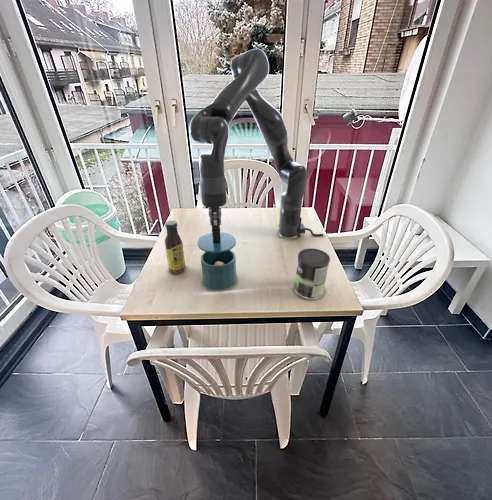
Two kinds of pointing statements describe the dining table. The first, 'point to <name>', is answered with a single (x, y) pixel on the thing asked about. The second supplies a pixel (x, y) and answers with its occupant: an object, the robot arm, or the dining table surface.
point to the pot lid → (216, 243)
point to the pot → (219, 270)
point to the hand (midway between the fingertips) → (216, 238)
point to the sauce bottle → (174, 248)
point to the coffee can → (311, 273)
